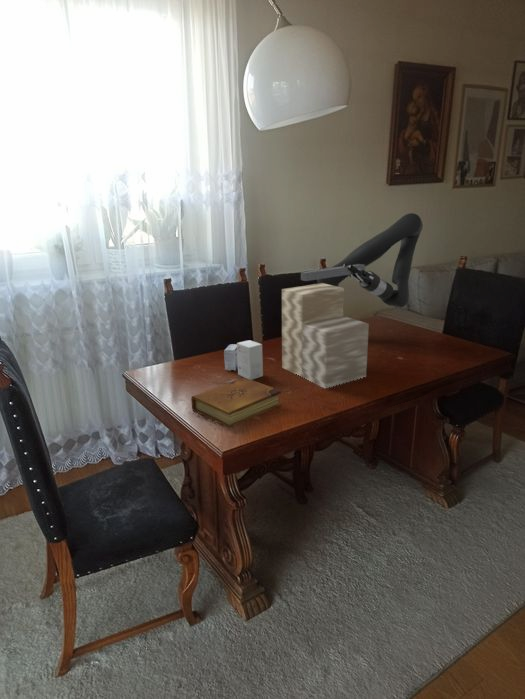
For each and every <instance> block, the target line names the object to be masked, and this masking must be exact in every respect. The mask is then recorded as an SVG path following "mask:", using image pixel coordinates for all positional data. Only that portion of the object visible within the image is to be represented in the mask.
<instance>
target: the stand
mask: <svg viewBox="0 0 525 699" xmlns="http://www.w3.org/2000/svg"><path fill="white" fill-rule="evenodd" d="M344 296H345V288H344V287H340V286H338V287H337V286H333V285H328V284H324V283H319V284H318V283H313V284H307V285H302V286H301V285H300V286H294V287H287V288H281V368H282V369H284V370H286V371H289V372H290V373H292V374H294V375H296V374H297V376H298V375H299V377H300V376H301V378H302V377H303V379H304V378H305V379H304V380H306V379H307V381H308V380H309V382H310V381H311V383H312V382H313V383H312V384H314V383H315V385H316V386H318V387H321V388H323V389H326V388H327V389H330V388H333V386H334V387H337V386H340V385H344V384H347V383H350V381H351V382H354V381H358V380H361V379H364V378H363V377H365V378H366V377H367V368H368V367H367V366H368V365H367V364H368V346H369V345H368V344H369V329H370V328H369V327H370V324H369V323H367V322H364V321H361V320H359V319H358V320H357V319H355V318H354V319H353V318H351V317H348V316H345V315H344V303H345V301H344V300H345V297H344ZM360 378H361V379H360ZM357 379H358V380H357ZM353 380H354V381H353ZM346 382H347V383H346ZM343 383H344V384H343ZM339 384H340V385H339ZM336 385H337V386H336ZM329 387H330V388H329Z"/></svg>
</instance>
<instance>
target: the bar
mask: <svg viewBox="0 0 525 699" xmlns="http://www.w3.org/2000/svg"><path fill="white" fill-rule="evenodd" d="M349 266H350V265H348V266H341V267H334V268H331V267H326V268H327V269H325V268H321V269H313V270H306V271H301V272H300V281H303V282H310V281H315V280H317V279H323V278H330V277H337V276H343V275H350V274H355V273H353V272H351V271H350V270H349ZM353 266H354V267H356V268H359V269H360V270H364V271H366V267H365V265H364V264H356V265H353Z"/></svg>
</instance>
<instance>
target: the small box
mask: <svg viewBox="0 0 525 699" xmlns="http://www.w3.org/2000/svg"><path fill="white" fill-rule="evenodd" d="M236 344H237V358H238V368H237V375H238V376H240V377H242V378H244V377H245V378H248V379H250V380H255V379H258V378H261V377H263V376H264V368H263V366H264V364H263V363H264V362H263V361H264V360H263V358H264V357H263V344H262V343H260V342H257V341H254V340H250V339H249V340H244V341H239V342H237V343H236Z"/></svg>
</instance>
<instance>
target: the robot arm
mask: <svg viewBox="0 0 525 699" xmlns="http://www.w3.org/2000/svg"><path fill="white" fill-rule="evenodd" d="M423 227H424V226H423V221H422V219H421V216H419V215H418V214H416V213H415V212H413V213H407V214H404V215H403V216H402V217H400V218H399V219H398V220H397V221H396V222H394V223H393V224H391V225H390V226H389V227H388V228H386V229H385V230H383V231H382V232H380V233H378V234H377V235H375V236H373V237H371V238H370V239H369V240H366V241H365V242H364V243H362V244H361V245H359V246H357V247H356V248H355V249H353V251H351V252H350V253H349V254H347V256H346V257H344V259H342V260H341V261H339V262H338V263H337V264H334V265H333V266H331V267H330V268H334V267H341V266H348V265H350V266H349V270H350V271H351V272H353V273H355V274H350V275H343V276H337V277H330V278H323V279H317V281H316V282H317V284H319V283H324V284H328V285H333V286H337V287H339V284H340V283H341V282H343V281H344V280H345V279H347V278H348V277H349V278H353V279H355V280H356V281H358V282H359V286H360V287H361V288H362V289H364V290H366V291H367V292H369V293H371V294H372V295H375V296H376V297H378V298H380V300H381V301H382V302H383V304H386V305H387V306H390V307H391V306H392V307H395V308H396V307H398V308H403V307H405V306H407V304H408V303H409V300H410V293H409V292H410V291H409V289H410V287H409V279H410V275H411V270H412V264H413V258H414V253H415V250H416V246H417V242H418V240H419V237H420V235H421V232H422V231H423ZM398 242H400V246H399V251H398V255H397V257H396V260H395V262H394V266H393V271H392V276H391V283H392V284H393V285H396V286H397V289H394V288H393V287H394V286H392V284H390V283H388V282H387V281H386V280H384V278H382V277H381V276H380V275H378V274H377V273H375V272H373V271H372V270H367V271H366V270H365V271H364V270H360V269H359V268H356V267H354V266H353V265H356V264H364V265H365V268H366V267H367V266H370V265H371V264H373V263H374V262H376V261H377V260H379V259H380V258H381V257H383V255H385V254H386V253H387V252H388V251H389V250H390V249H391V248H392V247H393V246H394V245H396V244H397V243H398ZM327 268H328V267H324V269H327Z"/></svg>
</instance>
